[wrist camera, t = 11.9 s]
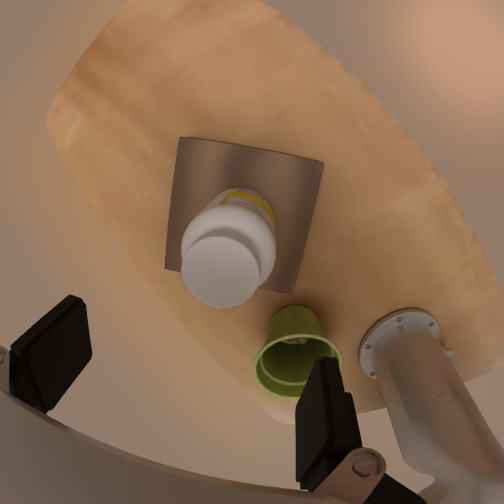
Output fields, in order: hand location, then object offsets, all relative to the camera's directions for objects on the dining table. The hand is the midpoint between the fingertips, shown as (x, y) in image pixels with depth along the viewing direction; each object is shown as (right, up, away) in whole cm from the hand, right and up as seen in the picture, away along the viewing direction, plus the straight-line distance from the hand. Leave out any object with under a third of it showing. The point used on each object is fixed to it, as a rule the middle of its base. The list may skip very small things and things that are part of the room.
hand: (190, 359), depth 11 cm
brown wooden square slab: (+1, +9, +22) cm, 24 cm away
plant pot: (+8, -5, +27) cm, 28 cm away
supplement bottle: (+1, +7, +19) cm, 20 cm away
